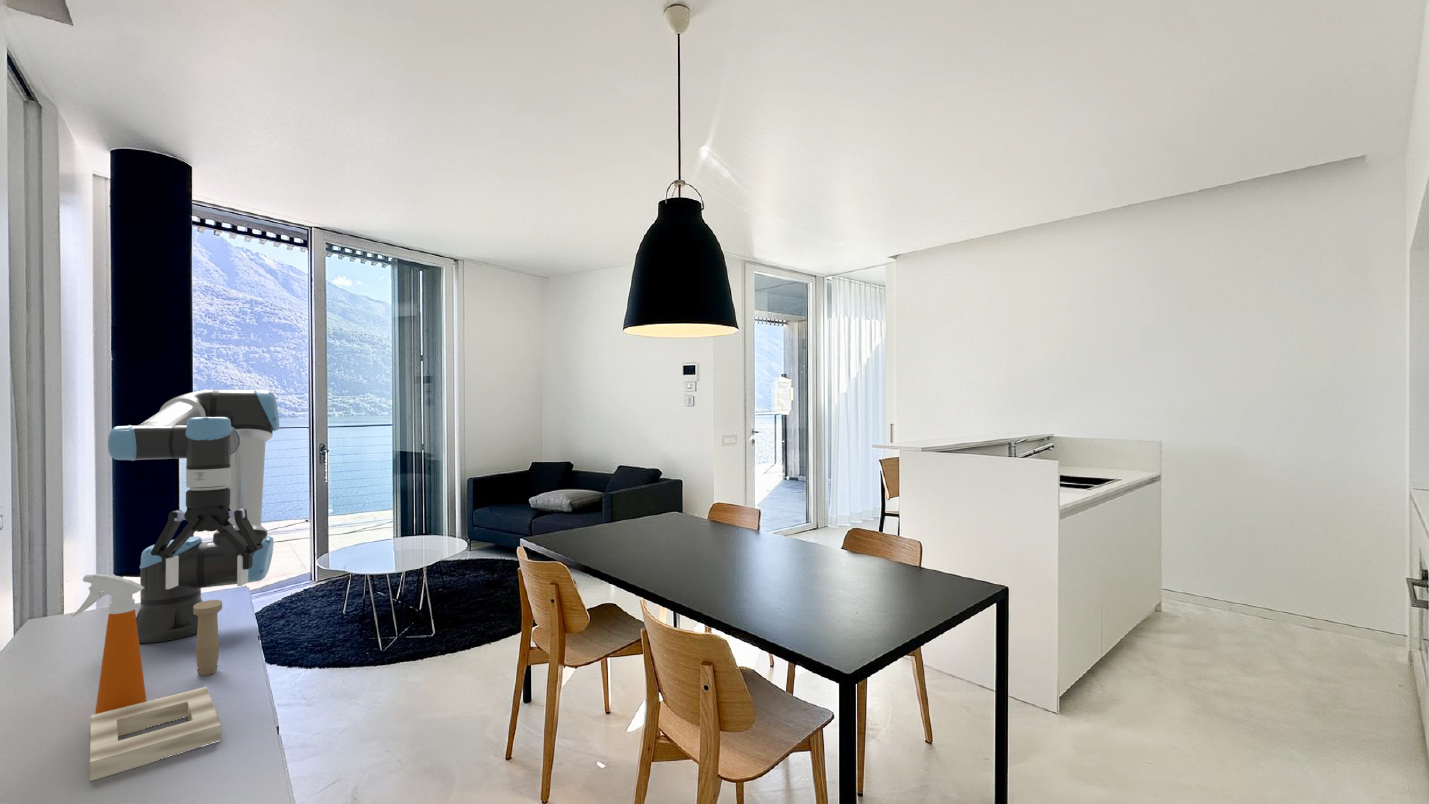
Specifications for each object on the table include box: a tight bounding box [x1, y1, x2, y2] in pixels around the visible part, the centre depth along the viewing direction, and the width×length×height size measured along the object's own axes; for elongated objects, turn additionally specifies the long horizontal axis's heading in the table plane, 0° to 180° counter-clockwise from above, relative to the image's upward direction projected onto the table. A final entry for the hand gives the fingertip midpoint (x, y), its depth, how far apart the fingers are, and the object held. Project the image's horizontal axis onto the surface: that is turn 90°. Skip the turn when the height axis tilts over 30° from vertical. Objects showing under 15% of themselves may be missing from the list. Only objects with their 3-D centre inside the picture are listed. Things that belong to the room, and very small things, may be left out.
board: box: [89, 686, 222, 782], centre depth 109 cm, size 20×16×3 cm
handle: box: [193, 599, 223, 677], centre depth 134 cm, size 5×6×15 cm
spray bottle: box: [71, 572, 147, 715], centre depth 118 cm, size 7×11×26 cm, turn 111°
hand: (207, 586), depth 134 cm, fingers open, 13 cm apart
